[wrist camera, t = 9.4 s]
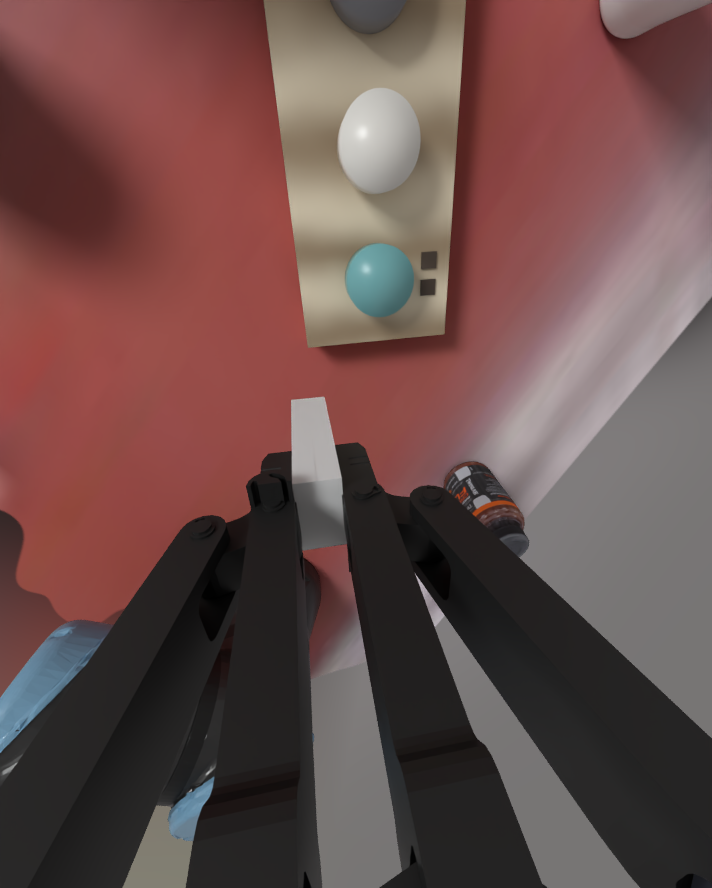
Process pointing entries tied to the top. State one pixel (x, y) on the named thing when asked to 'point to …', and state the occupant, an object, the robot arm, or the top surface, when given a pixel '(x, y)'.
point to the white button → (378, 141)
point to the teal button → (379, 279)
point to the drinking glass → (643, 14)
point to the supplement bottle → (488, 503)
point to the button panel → (321, 178)
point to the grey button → (368, 14)
